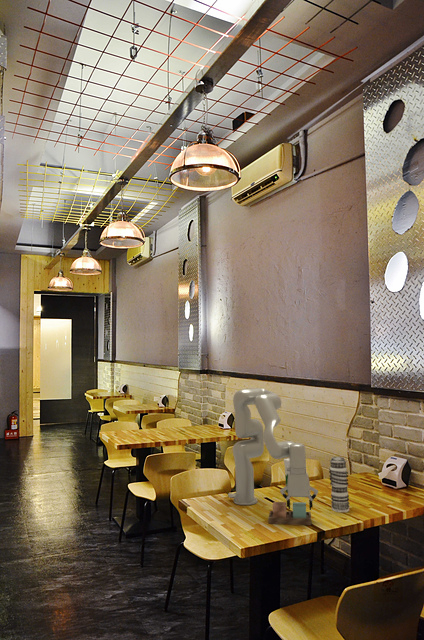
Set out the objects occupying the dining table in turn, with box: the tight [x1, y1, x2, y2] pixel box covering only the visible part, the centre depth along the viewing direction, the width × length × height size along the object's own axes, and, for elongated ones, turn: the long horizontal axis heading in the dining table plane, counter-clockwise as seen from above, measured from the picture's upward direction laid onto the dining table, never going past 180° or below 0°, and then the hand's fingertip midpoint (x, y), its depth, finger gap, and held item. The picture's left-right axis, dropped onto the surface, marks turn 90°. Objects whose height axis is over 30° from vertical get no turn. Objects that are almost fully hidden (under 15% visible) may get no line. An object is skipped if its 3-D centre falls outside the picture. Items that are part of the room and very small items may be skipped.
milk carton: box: [283, 457, 290, 493], centre depth 264 cm, size 9×9×20 cm
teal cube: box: [292, 501, 307, 518], centre depth 216 cm, size 6×6×6 cm
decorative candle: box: [328, 456, 350, 513], centre depth 232 cm, size 9×9×25 cm
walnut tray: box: [268, 501, 312, 526], centre depth 217 cm, size 19×10×8 cm, turn 79°
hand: (299, 508), depth 216 cm, fingers open, 9 cm apart
